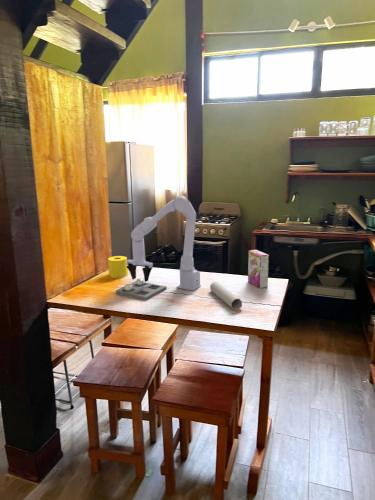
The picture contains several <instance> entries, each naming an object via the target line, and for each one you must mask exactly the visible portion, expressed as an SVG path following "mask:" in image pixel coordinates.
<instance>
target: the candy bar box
mask: <svg viewBox="0 0 375 500" xmlns="http://www.w3.org/2000/svg"><path fill="white" fill-rule="evenodd" d="M247 254H248V259H247V260H248V262H247V263H248V267H247V268H248V269H247V282H248V283H250V284H252V285H253V286H256V287H257V288H258V289H264V288H268V286H269V285H268V283H269V262H270V261H269V260H270V259H269V258H270V254H267V253H265V252H262V251H260V250H258V249H251V250H250V249H249V250H248V253H247Z"/></svg>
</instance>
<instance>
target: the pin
mask: <svg viewBox="0 0 375 500" xmlns="http://www.w3.org/2000/svg"><path fill="white" fill-rule="evenodd" d="M124 286H125V292H129V293H130V292H132V285H131V283H128V284H124Z"/></svg>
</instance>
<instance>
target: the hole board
mask: <svg viewBox="0 0 375 500" xmlns="http://www.w3.org/2000/svg"><path fill="white" fill-rule="evenodd" d="M130 284H131V285H132V292H130V293H129V292H125V285H124V286H123V287H120V288H118V289H116V290H115V292H114V293H115V295H121V296H124V297H129V298H134V299H139V300H144V301H149V300H151V299H152V298H154V297H155V296H157V295H159V294H160V293H161V294H162V292H163V293H164V291H166V290H167V285H166V286H165V285H160V284H155V283H150V282H145V281H144V286H142V287H140V286H137V280H135V281H133V282H131V283H130Z"/></svg>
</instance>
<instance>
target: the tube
mask: <svg viewBox="0 0 375 500" xmlns="http://www.w3.org/2000/svg"><path fill="white" fill-rule="evenodd" d="M209 290H210V291H211V292H212V293H213V294H214V295H215V296H217V298H218V299H220V300H222V302H224V303H225V304H226V305H227V306H229V307H230V309H232V311H237V310H240V309H241V308H242V307H243V301H242V300H241V298H240V297H238V296H236V295H235V294H233V292H231V291H230V290H228V289H227V288H226V287H224V286H223V285H222V284H220V283H219V282H218V281H216V282H212V283H211V284H210V285H209Z"/></svg>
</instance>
